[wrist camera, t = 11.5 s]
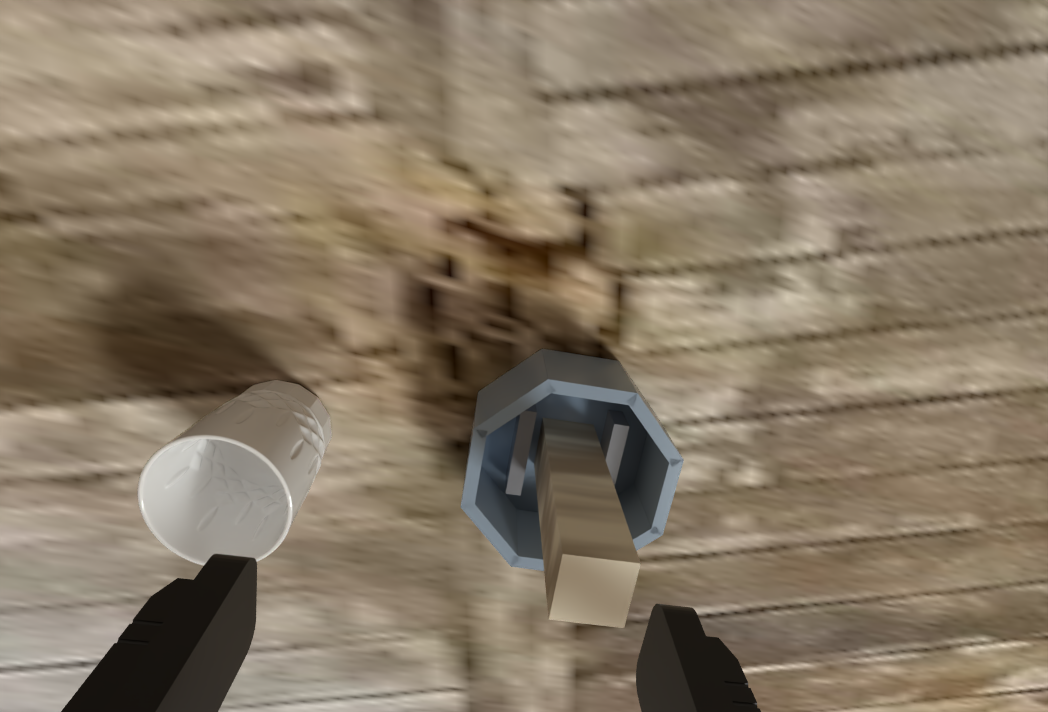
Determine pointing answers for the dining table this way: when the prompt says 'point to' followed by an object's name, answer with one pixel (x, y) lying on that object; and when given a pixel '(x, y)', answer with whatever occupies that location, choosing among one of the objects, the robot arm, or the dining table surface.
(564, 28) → the dining table surface
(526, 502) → the blue octagonal holder
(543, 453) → the tan square peg
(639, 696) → the robot arm
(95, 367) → the dining table surface
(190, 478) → the white cup
